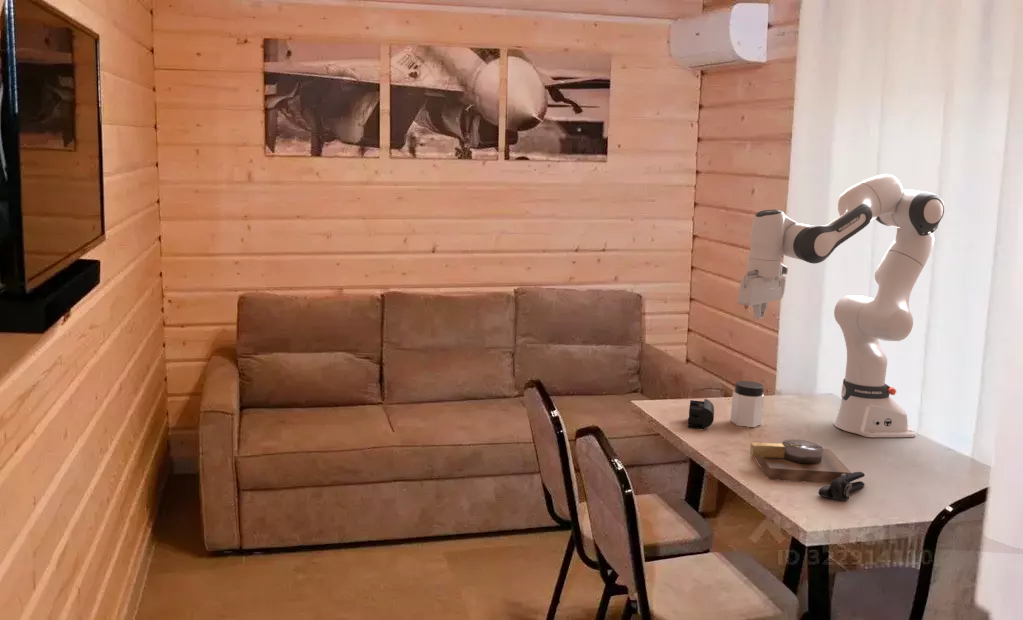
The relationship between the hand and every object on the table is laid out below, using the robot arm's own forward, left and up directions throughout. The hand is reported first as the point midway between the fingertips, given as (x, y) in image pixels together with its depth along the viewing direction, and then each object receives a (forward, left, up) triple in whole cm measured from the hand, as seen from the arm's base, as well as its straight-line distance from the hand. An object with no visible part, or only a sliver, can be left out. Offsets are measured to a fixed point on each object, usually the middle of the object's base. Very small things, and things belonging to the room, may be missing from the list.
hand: (758, 318), depth 263 cm
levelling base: (-8, +26, -34) cm, 44 cm away
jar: (-2, -12, -34) cm, 36 cm away
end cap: (+12, -8, -34) cm, 37 cm away
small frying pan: (-4, +26, -31) cm, 41 cm away
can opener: (-15, +41, -35) cm, 56 cm away
